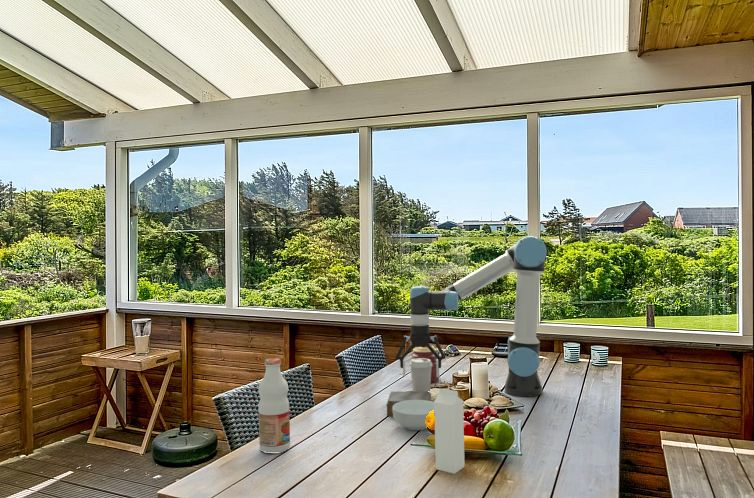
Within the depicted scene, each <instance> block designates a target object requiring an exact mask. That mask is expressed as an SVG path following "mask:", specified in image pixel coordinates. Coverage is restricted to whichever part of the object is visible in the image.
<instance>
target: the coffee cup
mask: <svg viewBox="0 0 754 498" xmlns="http://www.w3.org/2000/svg"><path fill="white" fill-rule="evenodd" d="M432 366H433V365H432V362H431V360H430V359H426V358H417V359H412V358H411V360H410V362H409V367H410V375H412V378H411V383H412V385H411V386H412V392H428V391H430V392H431V383H430V382H431V367H432Z"/></svg>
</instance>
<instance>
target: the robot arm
mask: <svg viewBox="0 0 754 498" xmlns="http://www.w3.org/2000/svg"><path fill="white" fill-rule="evenodd" d="M547 251H548V250H547V247H546V244H545V242H544V241H543V240H542V239H541V238H539V237H537V236H534V235H525V236H523V237H521V238H520V239H518V241H517V242H516V243H515V244H513V245H512V246H511V247H509V248H507V249H506V250H505V251H504V252H505V253H504V254H502V255H500V256H498V257H497V258H495V259H493V260H492V261H490V262H488V263H487V264H485V265H482V266H481V267H480V268H478V269H476V270H474V271H473V272H471V273H470V274H468V275H466V276H464V277H463V278H461V279H459V280H457V281H456V282H453V284H450V285H449V286H447V287H445V288H442V289H441V291H439V290H438V291H431V290H430V291H429V287H428V286H425V285H424V286H423V285H418V286H417V285H415V286H412V287H410V295H409V302H410V303H409V304H410V305H409V307H410V324H411V325H410V336H407V335H403V339H402V343H401V345H400V347H399V349H398V351H397V353H396V355H395V359H396V360H398V361H399V368H400V369H402V372H403V373H402V374H403V375H402V376H403V377H406V359H405V358H406V357H407V355H408V354H409V353H410V352H411V351H412V350H413V349H414V348H415V347H425V346H426V347H427V348H428V349H429V350H430V351H431V352H432V353H433V354H434V355H435V357H436V358H437V359H436V364H437V377H439V374H440V369H442V360H445V359H446V358H447V357H446V355H445V352H444V350H443V348H442V347H441V345H440V343H439V341H438V337H437V336H438V335H434V336H431V335H430V324H429V323H430V311H433V310H434V311H456V310H458V308H459V302H460V301H461V300H463V299H465V298H467V297H469V296H470V295H472V294H475V292H478V291H479V290H481V289H483V288H485V287H486V286H488V285H490V284H491V283H493V282H495V281H496V280H498V279H501V277H505V275H508V274H509V273H510V272H512V271H514V272H515V273H516V290H515V303H514V304H515V306H514V321H513V334H512V335H511V336H508V339H507V352H508V353H507V361H506V362H507V366H508V373H507V378H506V380H505V384H504V391H505V393H506V394H509V395H511V396H517V397H534V396H537V397H538V396H540V395H542V394H543V385H542V383H541V380H540V376H539V373H538V372H539V371H538V370H539V367H540V345H541V344H540V343H541V341H540V340H539V339H538V338H537V329H538V313H539V311H538V310H539V299H540V298H539V297H540V296H539V294H540V283H541V282H540V281H541V279H540V278H541V275H542V274H544V273H545V267H546V258H547V254H548V253H547ZM409 340H410V342H411V344H410V345H409V346H408V348H407V349H406V350H405V351H404V353H403V354H402V351H403V350H404V348H405V345H406V343H407V342H408V341H409ZM430 341H432V342H434V344H435V347H436V349H437V351H438V352H439V353H438V352H437V351H435V350H434V349H433V348H432V346H433V345H431V344H430V343H429V342H430ZM401 354H402V355H401ZM438 368H439V370H438Z"/></svg>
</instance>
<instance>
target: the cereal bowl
mask: <svg viewBox="0 0 754 498" xmlns="http://www.w3.org/2000/svg"><path fill="white" fill-rule="evenodd" d="M392 410H393V416H392V417H393V418H394V421H395V422H396V423H398V424H399V425H400V426H403V427H405V428H406V429H408V430H411V431H424V430H427V429H426V424H425V419H426V416H427V415H428V414H429V412H430V411H432V410H434V401H433V400H431V401H426V400H406V401H401V402H398V403H396V404H394V405H393V408H392Z"/></svg>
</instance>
